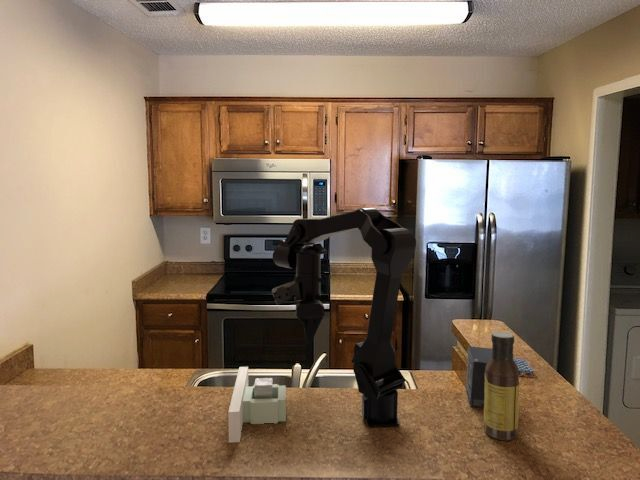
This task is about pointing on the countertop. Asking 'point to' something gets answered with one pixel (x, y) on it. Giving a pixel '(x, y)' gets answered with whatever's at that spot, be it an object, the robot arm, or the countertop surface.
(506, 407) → the sauce bottle
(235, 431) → the backstop wall
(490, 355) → the small box
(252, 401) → the socket block
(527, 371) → the woven mat
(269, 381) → the grey square block
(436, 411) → the countertop surface
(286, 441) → the countertop surface
